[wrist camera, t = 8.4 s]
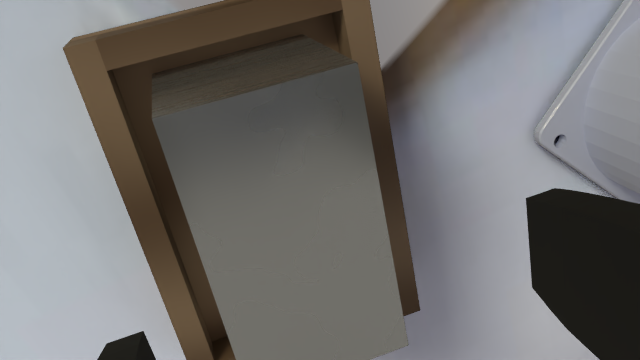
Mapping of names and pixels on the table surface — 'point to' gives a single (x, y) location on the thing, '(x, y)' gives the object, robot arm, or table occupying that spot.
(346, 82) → the grey speckled stone block
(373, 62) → the shallow wooden tray
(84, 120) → the table surface
